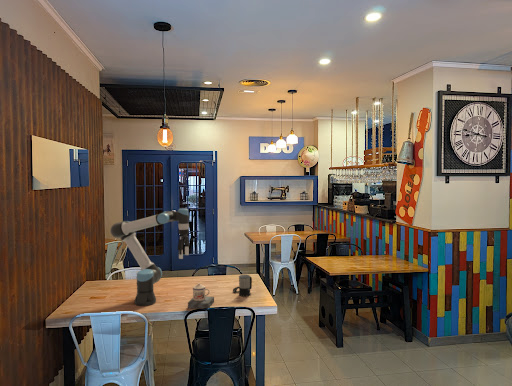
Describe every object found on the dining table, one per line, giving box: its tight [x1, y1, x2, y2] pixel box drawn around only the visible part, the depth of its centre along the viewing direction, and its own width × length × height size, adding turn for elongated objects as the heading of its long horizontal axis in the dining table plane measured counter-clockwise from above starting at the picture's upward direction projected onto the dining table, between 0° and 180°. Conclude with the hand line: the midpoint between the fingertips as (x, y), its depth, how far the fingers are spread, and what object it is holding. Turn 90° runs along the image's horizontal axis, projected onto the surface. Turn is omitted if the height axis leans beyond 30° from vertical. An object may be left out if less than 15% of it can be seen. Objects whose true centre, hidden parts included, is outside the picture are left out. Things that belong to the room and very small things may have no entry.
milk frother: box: [232, 274, 253, 297], centre depth 294 cm, size 14×16×15 cm
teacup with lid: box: [192, 282, 210, 301], centre depth 268 cm, size 12×9×12 cm
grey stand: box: [187, 295, 215, 310], centre depth 268 cm, size 15×15×4 cm
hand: (183, 256), depth 283 cm, fingers open, 13 cm apart
